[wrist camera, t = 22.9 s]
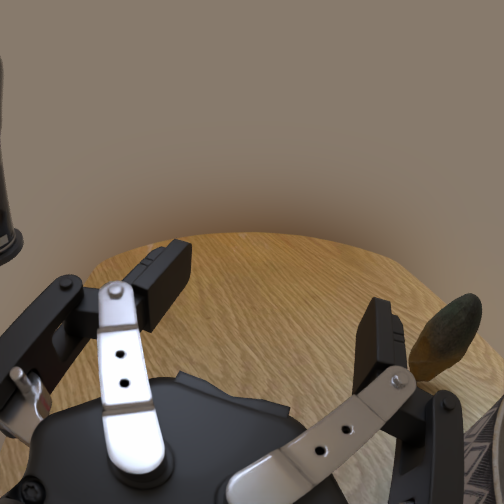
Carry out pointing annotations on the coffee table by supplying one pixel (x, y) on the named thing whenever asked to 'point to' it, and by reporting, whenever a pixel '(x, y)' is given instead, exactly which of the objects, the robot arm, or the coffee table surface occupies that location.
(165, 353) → the coffee table surface
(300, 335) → the coffee table surface
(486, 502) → the planter
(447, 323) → the decorative stone
